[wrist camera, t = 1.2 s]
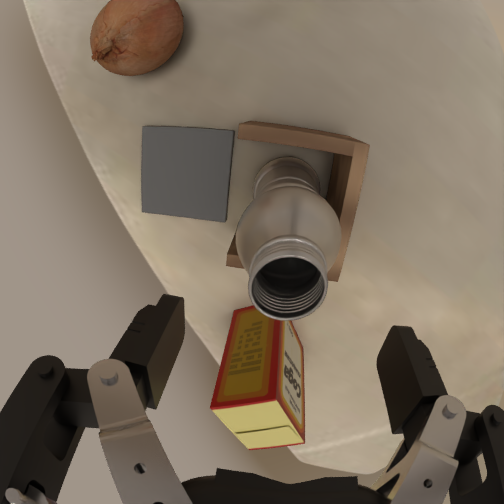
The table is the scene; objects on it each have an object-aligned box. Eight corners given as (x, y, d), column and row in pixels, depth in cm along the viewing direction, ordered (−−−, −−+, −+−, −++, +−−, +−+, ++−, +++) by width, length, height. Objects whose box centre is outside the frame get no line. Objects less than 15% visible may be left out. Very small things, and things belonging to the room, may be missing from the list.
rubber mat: (145, 125, 30) (142, 126, 29) (234, 130, 29) (233, 131, 29) (144, 209, 34) (141, 212, 34) (226, 220, 34) (225, 222, 33)
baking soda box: (234, 310, 39) (209, 410, 25) (281, 297, 38) (275, 402, 24) (260, 358, 43) (249, 452, 29) (303, 348, 41) (304, 446, 27)
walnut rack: (250, 120, 29) (239, 123, 22) (349, 136, 28) (369, 145, 21) (238, 231, 34) (226, 265, 27) (327, 244, 34) (337, 281, 27)
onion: (157, 72, 30) (104, 108, 24) (115, 19, 24) (53, 45, 18) (218, 29, 24) (168, 52, 18) (170, -31, 19) (106, -24, 13)
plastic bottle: (242, 187, 32) (188, 293, 14) (285, 140, 29) (286, 187, 12) (287, 225, 33) (286, 361, 16) (330, 181, 31) (387, 284, 13)
